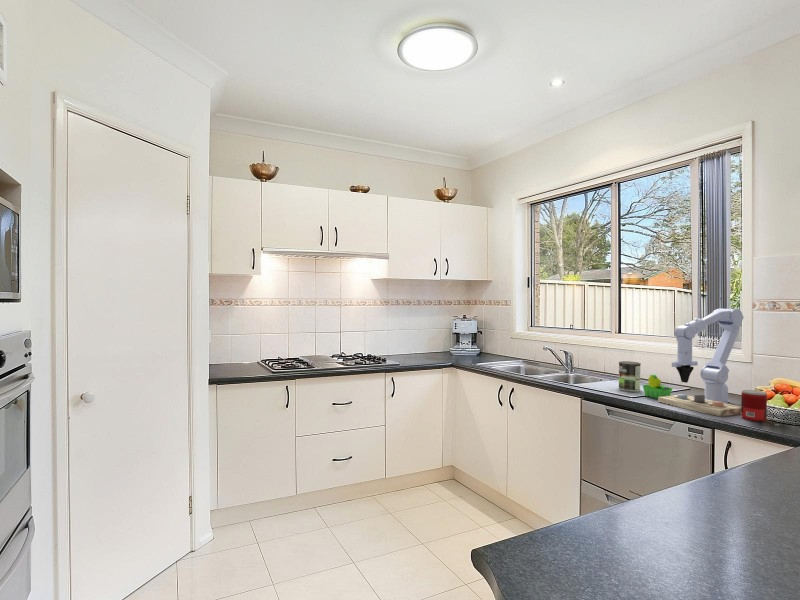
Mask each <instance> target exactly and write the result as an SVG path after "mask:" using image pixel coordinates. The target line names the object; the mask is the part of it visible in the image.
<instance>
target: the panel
mask: <svg viewBox="0 0 800 600" xmlns="http://www.w3.org/2000/svg"><path fill="white" fill-rule="evenodd" d="M659 402H662V403H661V404H663V403H666V404H665V405H668V404H670V405H669V406H672V405H673V406H672V407H676V406H677V408H681V409H686V410H689V411H693V412H694V411H695V412H699V413H704V414H708V415H711V416H716V417H727V416H733V414H734V415H740V413H741V406H740V405H737V404H731V403H724V407H721V408H720V407H715V406H712V400H707V399H705V403H702V404H701V403H696V402H694V396H692V395H688V399H686V400H682V399H678V398H677V394H674V395H670V396H663V397H658V399H657V403H659ZM726 415H727V416H726Z"/></svg>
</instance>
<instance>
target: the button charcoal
mask: <svg viewBox="0 0 800 600" xmlns="http://www.w3.org/2000/svg"><path fill="white" fill-rule="evenodd" d="M693 395H694V396H693V397H694V402H696V403H701V404H702V403H705V394H700V393H699V394H698V393H695V394H693Z"/></svg>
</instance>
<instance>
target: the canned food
mask: <svg viewBox="0 0 800 600" xmlns="http://www.w3.org/2000/svg"><path fill="white" fill-rule="evenodd" d="M767 393H768V392H767V391H766V392H765V391H762V390H757V389H756V390H755V389H743V390H741V400H740V401H741V404H740V405H741V418H742V419H743V420H745V419H746V420H745V421H749V420H751V422H755V421H761V422H762V421H765V422H766V421H767V411H768V409H767V408H768V407H767V406H768V404H767V403H768V401H767V400H768V394H767ZM761 422H760V423H761ZM762 423H763V422H762Z"/></svg>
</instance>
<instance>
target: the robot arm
mask: <svg viewBox="0 0 800 600" xmlns="http://www.w3.org/2000/svg"><path fill="white" fill-rule="evenodd" d="M743 320H744V315H743V312H742V310H741V309H739V308H722V307H719V308H717V309H714V310H712V312H711V313H709V314H708V315H706V316H705V317H702V318H697V317H696V318H693V320H692V321H689V322H686V323H685V324H684V325H679V326H677V327H676V328H675V330H674V332H673V333H674V336H675V338H676V341H677V359H676V360H677V361H674V362H673V361H672V362H671V367H672V368H675V369H676V370H677V372H678V375H679V378H680V381H681V383H685V384H686V383H688V382H689V379H690V375H692V374H691V373H692V372H693V371H694V366H696V367H697V366H698V364H699V363H698V361H697V360H693V339H694V338H695V337H696V335H697V334H698V333H701V332H702V331H705V330H706V329H707V326H709V325H711V324H713V323H716V322H717V323H718V325H719V326H720V327H721V328H722V329H723V332H722V334H721V336H720V339H719V342H718V345H717V347H716V349H715V352H714V354H713V356H712V358H711V360H709V361H708V362H705V364H704V366H703V368H701V369H700V378H701V379H702V381H703V382H704V395H705V399H707V400H712V401H720V402H724V403H727V404H729V403H730V402H731V401H730V400H729V387H728V385H727V384H726V382H727V381H728V379H729V373H730V369H729V367H728V366H727V362H728V360H729V356H730V354H731V352H732V349H733V347H734V344H735V342H736V340H737V337H738V334H739V332H740V327H741V325H742V322H743ZM728 402H729V403H728Z"/></svg>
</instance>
